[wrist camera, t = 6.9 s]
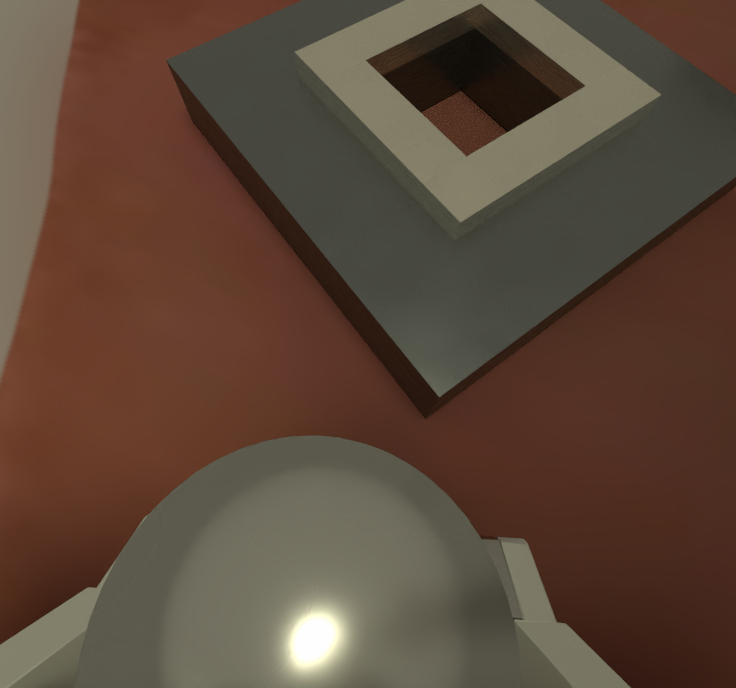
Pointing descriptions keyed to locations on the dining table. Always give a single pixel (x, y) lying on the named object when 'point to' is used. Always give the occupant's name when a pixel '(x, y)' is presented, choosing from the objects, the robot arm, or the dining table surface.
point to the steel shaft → (303, 581)
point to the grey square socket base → (461, 162)
